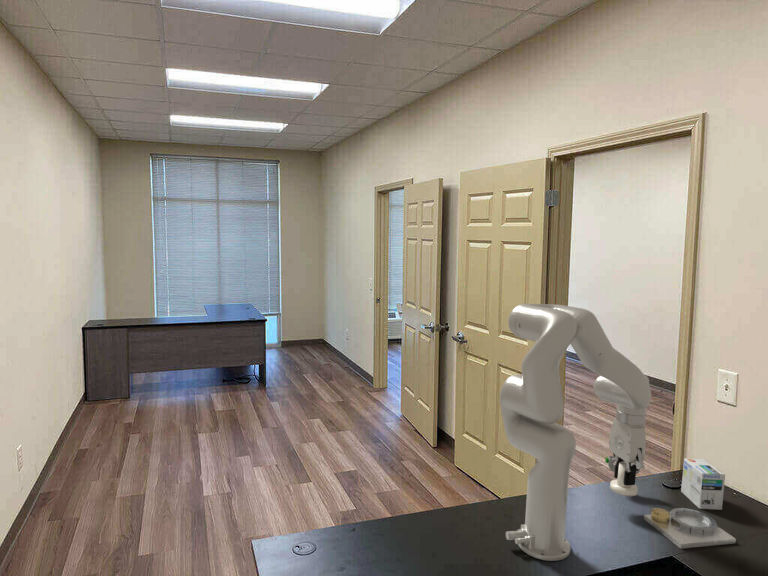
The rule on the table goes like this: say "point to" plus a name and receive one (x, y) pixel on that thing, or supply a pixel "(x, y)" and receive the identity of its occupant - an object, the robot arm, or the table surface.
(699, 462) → the light bulb box
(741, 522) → the table surface
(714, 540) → the carrier plate
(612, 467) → the mechanical component
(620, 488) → the white door knob
